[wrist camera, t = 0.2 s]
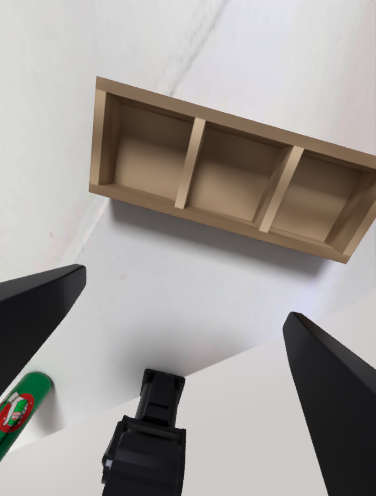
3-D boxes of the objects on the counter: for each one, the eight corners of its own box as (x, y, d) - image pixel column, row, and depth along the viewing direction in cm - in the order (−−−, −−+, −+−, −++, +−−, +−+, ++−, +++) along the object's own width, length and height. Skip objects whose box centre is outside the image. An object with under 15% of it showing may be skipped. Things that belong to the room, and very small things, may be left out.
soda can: (33, 389, 37) (-42, 485, 26) (21, 369, 35) (-66, 463, 24) (58, 389, 36) (-8, 488, 25) (47, 369, 34) (-30, 465, 23)
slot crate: (323, 247, 22) (346, 264, 19) (108, 187, 22) (88, 191, 18) (369, 165, 19) (409, 165, 15) (118, 93, 19) (96, 75, 15)
